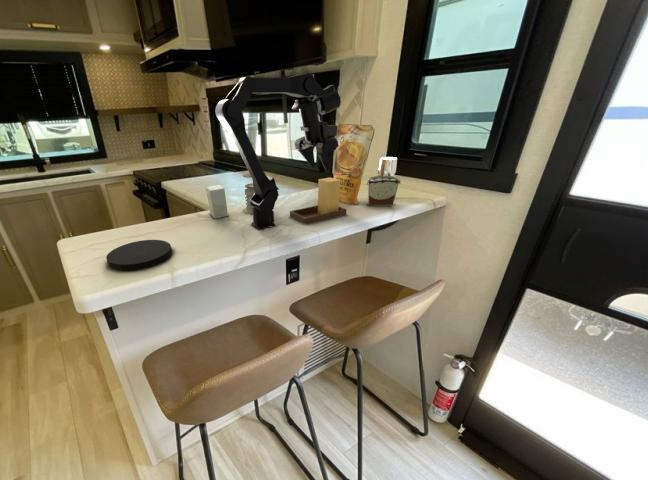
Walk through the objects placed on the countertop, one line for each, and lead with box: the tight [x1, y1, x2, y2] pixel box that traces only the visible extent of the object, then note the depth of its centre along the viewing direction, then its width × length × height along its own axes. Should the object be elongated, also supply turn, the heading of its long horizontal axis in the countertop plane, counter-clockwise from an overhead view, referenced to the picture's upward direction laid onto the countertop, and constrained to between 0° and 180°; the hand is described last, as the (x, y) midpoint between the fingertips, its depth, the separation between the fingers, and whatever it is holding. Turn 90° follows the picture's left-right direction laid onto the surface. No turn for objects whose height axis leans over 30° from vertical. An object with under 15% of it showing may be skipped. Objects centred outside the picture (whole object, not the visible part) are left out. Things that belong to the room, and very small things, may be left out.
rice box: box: [317, 177, 340, 214], centre depth 112 cm, size 5×6×12 cm
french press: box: [242, 140, 255, 215], centre depth 118 cm, size 10×12×25 cm
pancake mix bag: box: [333, 123, 376, 205], centre depth 123 cm, size 7×19×28 cm, turn 27°
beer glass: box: [377, 156, 398, 177], centre depth 129 cm, size 7×7×15 cm
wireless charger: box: [105, 239, 173, 272], centre depth 90 cm, size 18×18×2 cm
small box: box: [205, 184, 229, 219], centre depth 120 cm, size 8×6×10 cm
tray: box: [289, 204, 347, 225], centre depth 114 cm, size 18×11×2 cm, turn 117°
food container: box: [366, 175, 401, 207], centre depth 121 cm, size 12×6×10 cm, turn 84°
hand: (320, 169), depth 108 cm, fingers open, 9 cm apart
